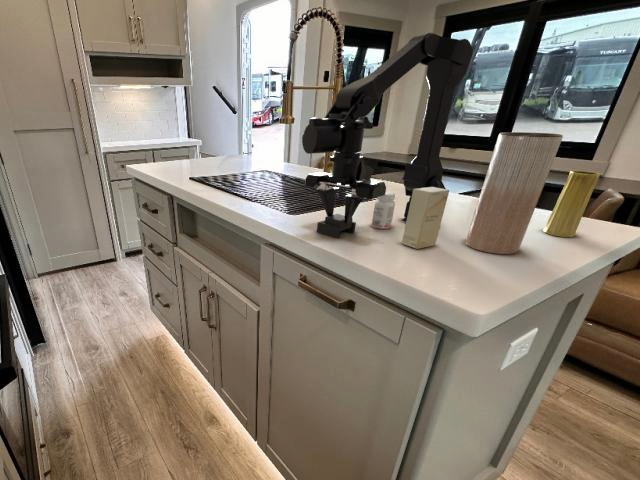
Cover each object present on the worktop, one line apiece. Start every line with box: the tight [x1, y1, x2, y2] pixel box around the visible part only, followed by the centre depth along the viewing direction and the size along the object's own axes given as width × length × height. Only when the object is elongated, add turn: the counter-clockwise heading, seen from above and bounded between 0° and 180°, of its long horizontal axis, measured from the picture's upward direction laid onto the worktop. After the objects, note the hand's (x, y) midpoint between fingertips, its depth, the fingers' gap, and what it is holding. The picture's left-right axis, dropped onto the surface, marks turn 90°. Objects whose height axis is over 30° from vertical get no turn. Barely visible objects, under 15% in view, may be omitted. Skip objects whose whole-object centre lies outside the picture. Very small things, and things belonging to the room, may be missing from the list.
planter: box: [465, 131, 564, 255], centre depth 74 cm, size 10×10×23 cm
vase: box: [543, 170, 601, 238], centre depth 84 cm, size 6×6×14 cm
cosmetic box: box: [401, 187, 450, 250], centre depth 78 cm, size 6×4×12 cm
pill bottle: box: [371, 191, 396, 230], centre depth 91 cm, size 5×5×8 cm
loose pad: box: [324, 213, 353, 232], centre depth 87 cm, size 5×5×2 cm
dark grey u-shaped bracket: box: [316, 219, 357, 239], centre depth 88 cm, size 6×7×2 cm
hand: (338, 221), depth 87 cm, fingers closed on loose pad, 5 cm apart
